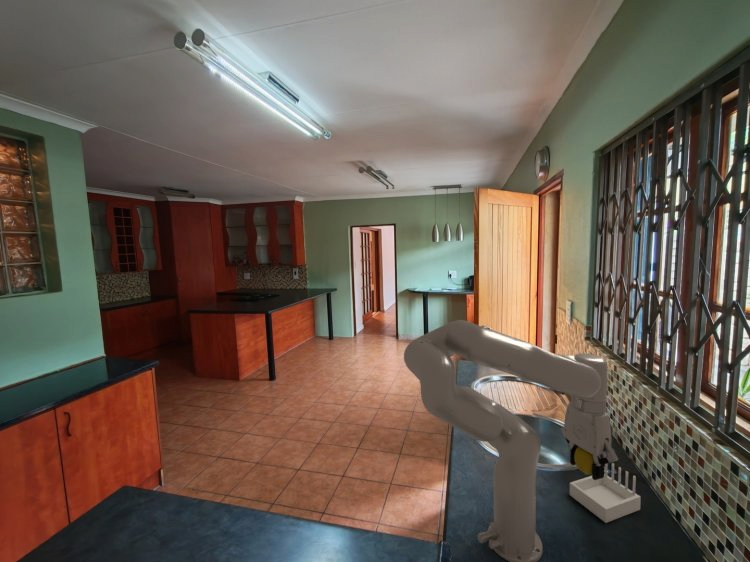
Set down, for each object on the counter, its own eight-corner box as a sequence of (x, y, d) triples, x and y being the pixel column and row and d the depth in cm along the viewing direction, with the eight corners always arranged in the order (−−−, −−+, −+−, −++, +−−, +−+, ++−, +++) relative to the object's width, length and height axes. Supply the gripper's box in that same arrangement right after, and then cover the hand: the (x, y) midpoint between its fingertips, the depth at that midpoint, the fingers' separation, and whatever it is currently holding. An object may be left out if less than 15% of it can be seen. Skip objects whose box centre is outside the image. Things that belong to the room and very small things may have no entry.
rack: (605, 522, 88) (606, 491, 87) (569, 494, 98) (570, 466, 98) (640, 509, 92) (641, 479, 91) (602, 484, 103) (602, 456, 102)
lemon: (603, 482, 83) (604, 451, 83) (578, 480, 85) (579, 449, 84) (593, 468, 89) (594, 439, 88) (570, 466, 90) (571, 438, 89)
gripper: (549, 392, 92) (548, 455, 94) (610, 421, 76) (608, 496, 77) (570, 388, 95) (568, 449, 96) (633, 415, 78) (631, 489, 80)
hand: (586, 470), depth 87 cm, fingers closed on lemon, 5 cm apart
